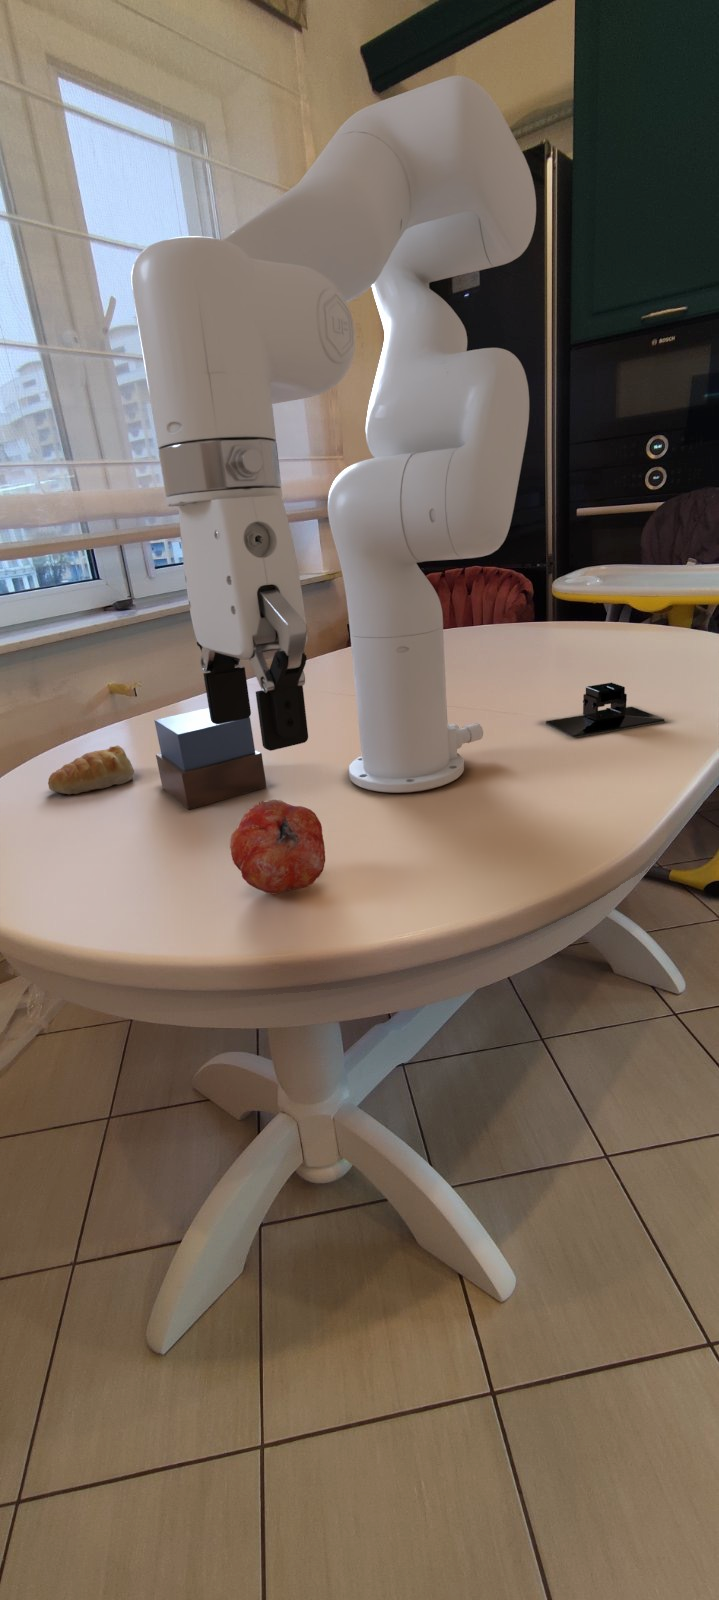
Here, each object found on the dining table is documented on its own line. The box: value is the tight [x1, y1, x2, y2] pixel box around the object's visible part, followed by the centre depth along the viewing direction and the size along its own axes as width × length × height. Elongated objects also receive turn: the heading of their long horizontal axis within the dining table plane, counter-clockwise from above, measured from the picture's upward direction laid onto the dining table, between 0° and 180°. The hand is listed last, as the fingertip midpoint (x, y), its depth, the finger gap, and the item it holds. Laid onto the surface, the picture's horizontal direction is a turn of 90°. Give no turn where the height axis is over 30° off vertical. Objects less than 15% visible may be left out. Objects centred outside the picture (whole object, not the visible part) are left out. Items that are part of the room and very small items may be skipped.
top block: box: [154, 707, 256, 771], centre depth 79 cm, size 8×8×4 cm
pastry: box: [47, 745, 135, 796], centre depth 85 cm, size 9×7×4 cm
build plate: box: [545, 682, 666, 739], centre depth 89 cm, size 12×7×5 cm, turn 105°
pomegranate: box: [229, 799, 326, 895], centre depth 57 cm, size 7×7×10 cm
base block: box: [155, 749, 267, 810], centre depth 80 cm, size 9×9×4 cm
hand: (256, 732), depth 53 cm, fingers open, 9 cm apart
